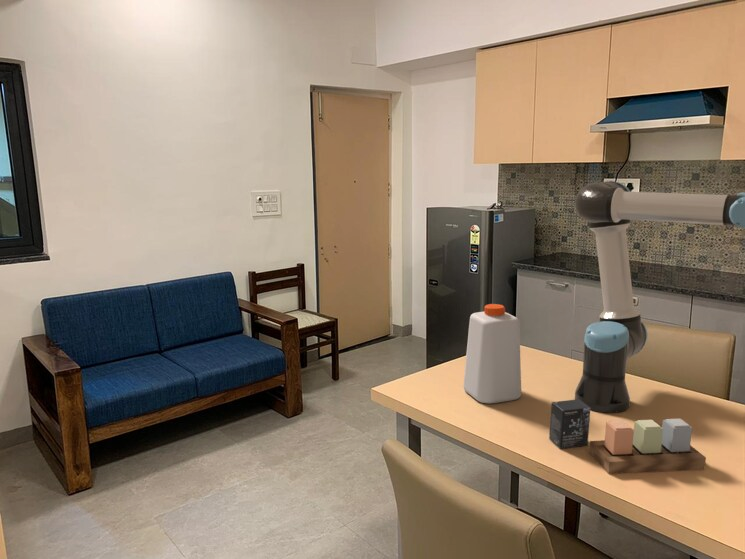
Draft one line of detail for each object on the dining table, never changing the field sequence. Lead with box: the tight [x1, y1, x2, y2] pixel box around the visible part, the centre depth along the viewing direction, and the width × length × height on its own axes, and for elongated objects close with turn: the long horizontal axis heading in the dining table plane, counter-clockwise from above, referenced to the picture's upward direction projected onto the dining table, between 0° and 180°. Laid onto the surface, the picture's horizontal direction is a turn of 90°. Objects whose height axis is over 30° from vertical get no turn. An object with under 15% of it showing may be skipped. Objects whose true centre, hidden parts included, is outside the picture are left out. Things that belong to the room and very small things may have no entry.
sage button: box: [633, 419, 663, 453], centre depth 136 cm, size 4×4×6 cm
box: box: [548, 398, 591, 450], centre depth 145 cm, size 8×6×11 cm
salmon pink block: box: [604, 420, 634, 455], centre depth 136 cm, size 4×4×6 cm
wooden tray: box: [589, 439, 707, 475], centre depth 137 cm, size 23×10×3 cm, turn 94°
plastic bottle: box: [462, 303, 522, 405], centre depth 175 cm, size 15×15×28 cm
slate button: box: [661, 418, 693, 452], centre depth 137 cm, size 4×4×6 cm
